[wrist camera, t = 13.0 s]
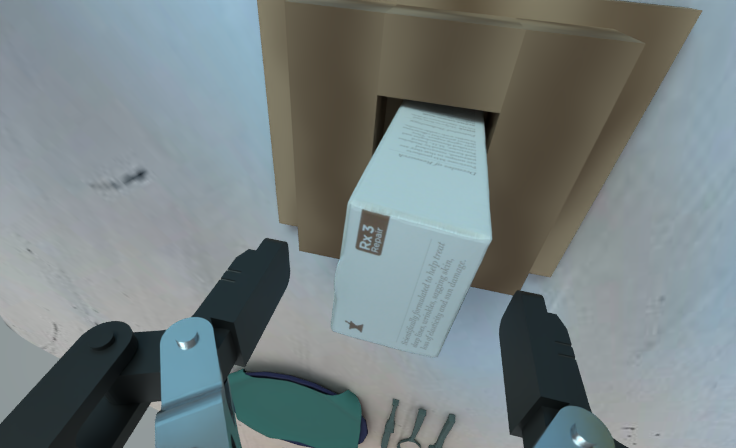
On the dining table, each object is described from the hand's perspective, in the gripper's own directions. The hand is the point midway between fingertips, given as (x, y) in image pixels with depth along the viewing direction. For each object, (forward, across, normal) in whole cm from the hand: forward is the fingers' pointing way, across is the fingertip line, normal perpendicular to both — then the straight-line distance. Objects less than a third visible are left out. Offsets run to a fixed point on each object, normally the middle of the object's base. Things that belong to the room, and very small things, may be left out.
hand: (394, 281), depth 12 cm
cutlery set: (+13, +5, +40) cm, 42 cm away
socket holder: (+12, 0, 0) cm, 12 cm away
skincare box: (+11, 0, 0) cm, 11 cm away
